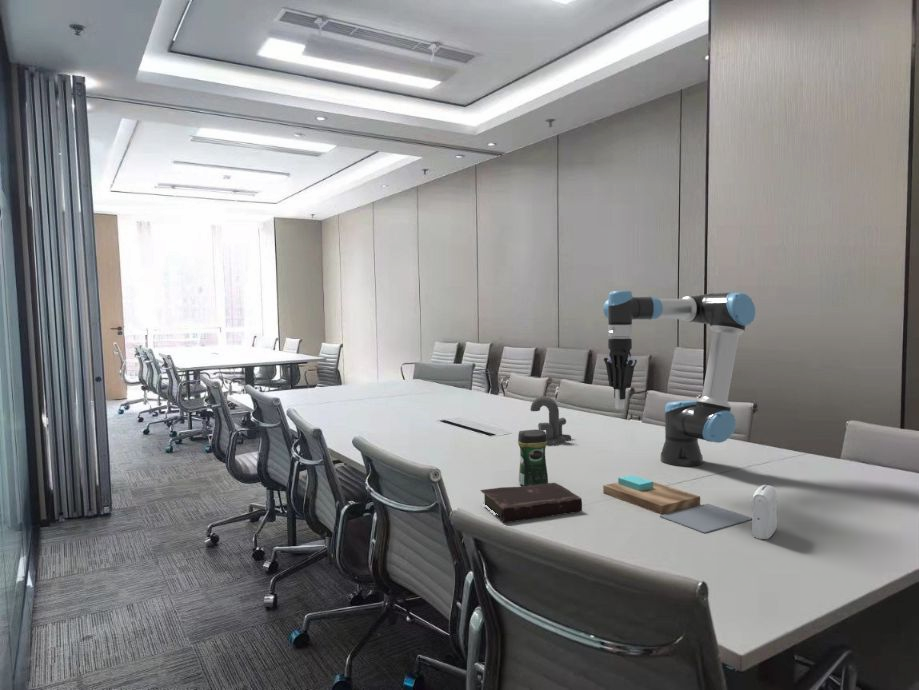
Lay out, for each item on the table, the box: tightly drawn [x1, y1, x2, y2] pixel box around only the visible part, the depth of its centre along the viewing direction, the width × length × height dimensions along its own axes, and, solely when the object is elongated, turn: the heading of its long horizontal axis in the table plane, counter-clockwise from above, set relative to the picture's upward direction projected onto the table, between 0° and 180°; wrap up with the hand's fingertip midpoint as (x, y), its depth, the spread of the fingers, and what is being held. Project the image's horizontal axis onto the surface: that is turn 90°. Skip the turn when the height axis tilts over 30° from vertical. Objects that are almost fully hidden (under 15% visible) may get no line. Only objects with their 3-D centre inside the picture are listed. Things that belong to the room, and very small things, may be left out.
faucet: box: [529, 395, 572, 446], centre depth 271 cm, size 18×16×20 cm
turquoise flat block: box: [617, 474, 654, 491], centre depth 190 cm, size 6×9×2 cm, turn 29°
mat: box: [659, 503, 752, 534], centre depth 167 cm, size 20×15×1 cm
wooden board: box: [602, 481, 701, 515], centre depth 185 cm, size 16×24×2 cm, turn 29°
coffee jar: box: [517, 429, 549, 487], centre depth 202 cm, size 10×8×19 cm
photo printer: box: [751, 484, 778, 540], centre depth 155 cm, size 10×4×12 cm, turn 140°
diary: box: [480, 482, 583, 524], centre depth 179 cm, size 19×25×5 cm
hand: (619, 408), depth 199 cm, fingers closed
